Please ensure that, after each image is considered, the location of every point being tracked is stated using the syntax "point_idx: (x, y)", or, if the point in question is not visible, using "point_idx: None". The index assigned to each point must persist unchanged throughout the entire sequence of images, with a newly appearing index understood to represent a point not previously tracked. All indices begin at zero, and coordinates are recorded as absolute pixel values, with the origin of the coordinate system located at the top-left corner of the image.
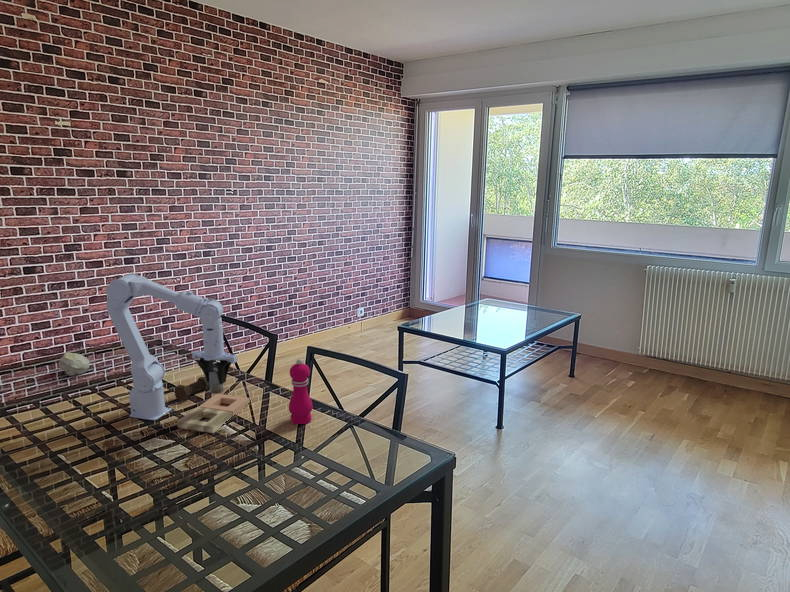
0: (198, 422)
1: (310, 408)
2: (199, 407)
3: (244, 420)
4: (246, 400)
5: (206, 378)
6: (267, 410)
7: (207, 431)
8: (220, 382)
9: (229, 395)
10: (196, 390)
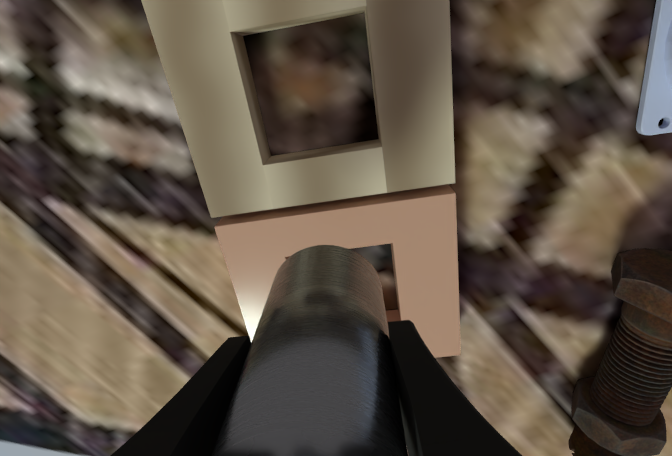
0: None
1: None
2: (440, 183)
3: (146, 208)
4: None
5: (413, 344)
6: (142, 330)
7: None
8: (233, 346)
9: None
10: (610, 349)
